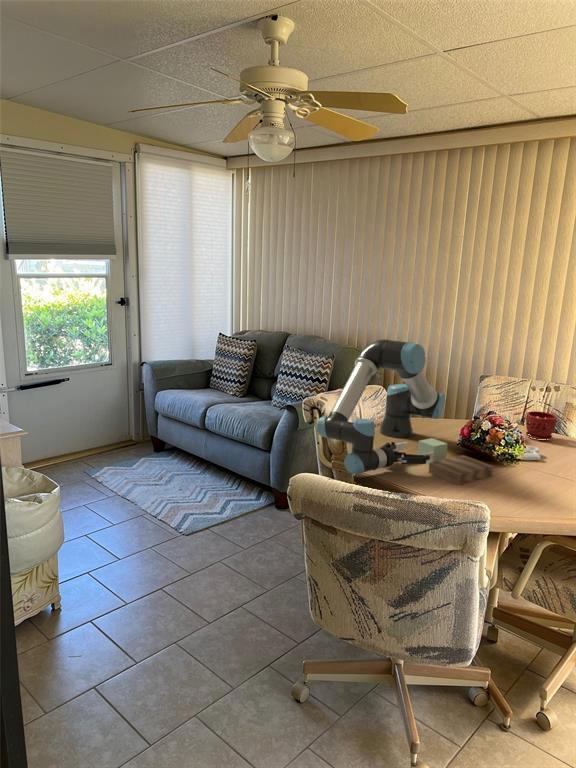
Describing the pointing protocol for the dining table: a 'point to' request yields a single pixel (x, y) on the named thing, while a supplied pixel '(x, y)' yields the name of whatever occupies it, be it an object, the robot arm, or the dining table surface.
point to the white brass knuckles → (531, 453)
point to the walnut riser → (460, 469)
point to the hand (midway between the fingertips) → (419, 450)
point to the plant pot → (540, 424)
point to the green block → (433, 449)
